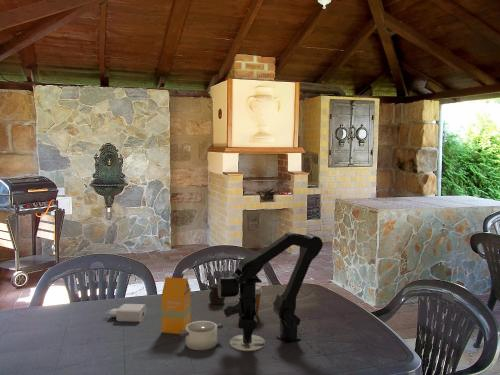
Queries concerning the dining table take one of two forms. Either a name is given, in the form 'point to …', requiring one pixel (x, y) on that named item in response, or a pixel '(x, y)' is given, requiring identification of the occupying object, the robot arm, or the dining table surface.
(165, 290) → the orange juice
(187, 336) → the pot
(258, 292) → the disposable coffee cup
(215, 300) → the mate gourd
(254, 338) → the lid
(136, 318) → the charger
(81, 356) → the dining table surface
